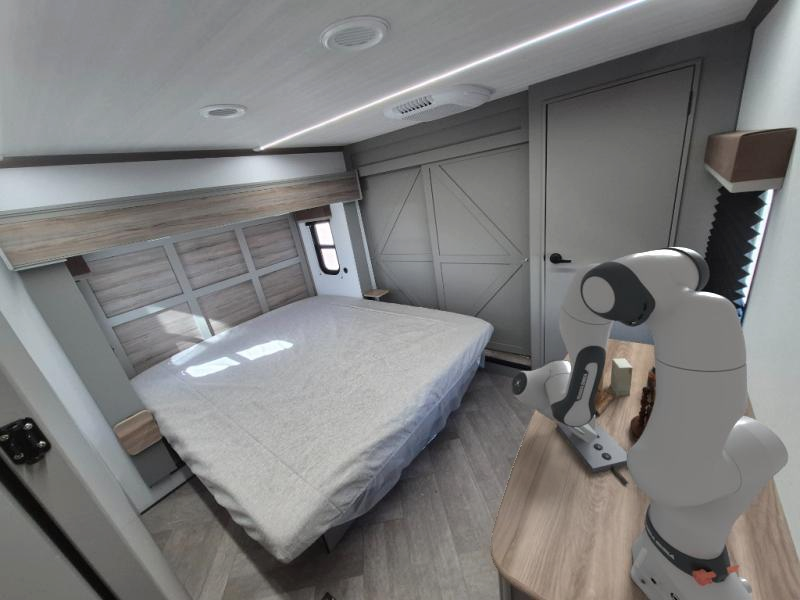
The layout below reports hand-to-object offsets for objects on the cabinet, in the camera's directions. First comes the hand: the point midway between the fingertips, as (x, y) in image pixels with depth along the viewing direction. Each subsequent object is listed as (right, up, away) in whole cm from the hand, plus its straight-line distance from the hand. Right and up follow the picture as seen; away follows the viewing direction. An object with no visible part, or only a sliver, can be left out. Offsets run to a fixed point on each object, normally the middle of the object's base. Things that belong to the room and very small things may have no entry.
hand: (582, 421), depth 98 cm
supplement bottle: (+35, +5, +14) cm, 38 cm away
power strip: (+3, -8, -3) cm, 9 cm away
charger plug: (+2, -6, +2) cm, 7 cm away
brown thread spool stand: (+22, -4, -2) cm, 23 cm away
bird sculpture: (+12, +1, +16) cm, 20 cm away
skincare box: (+25, +5, +18) cm, 31 cm away
